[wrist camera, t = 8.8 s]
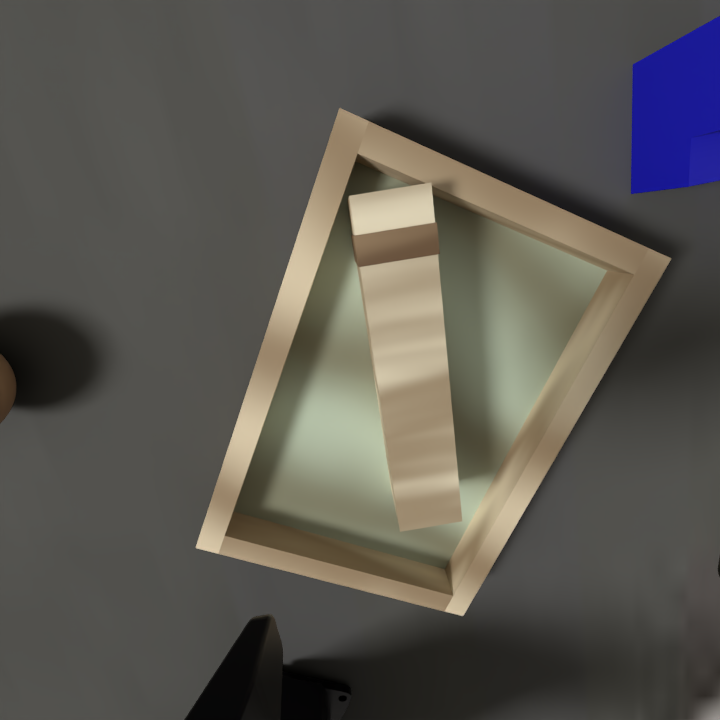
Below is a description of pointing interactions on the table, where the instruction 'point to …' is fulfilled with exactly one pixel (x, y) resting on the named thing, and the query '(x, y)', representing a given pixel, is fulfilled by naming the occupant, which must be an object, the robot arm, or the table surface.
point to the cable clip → (677, 113)
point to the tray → (465, 364)
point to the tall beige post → (408, 349)
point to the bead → (6, 388)
